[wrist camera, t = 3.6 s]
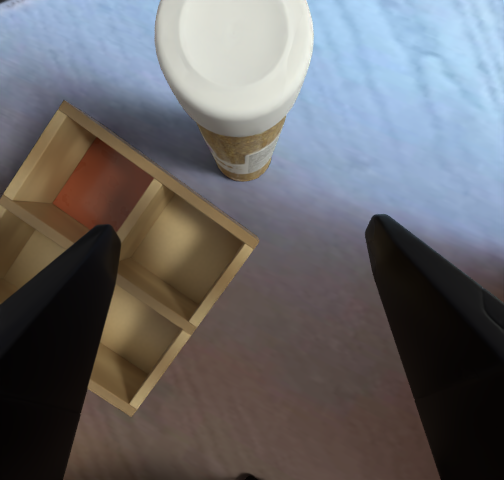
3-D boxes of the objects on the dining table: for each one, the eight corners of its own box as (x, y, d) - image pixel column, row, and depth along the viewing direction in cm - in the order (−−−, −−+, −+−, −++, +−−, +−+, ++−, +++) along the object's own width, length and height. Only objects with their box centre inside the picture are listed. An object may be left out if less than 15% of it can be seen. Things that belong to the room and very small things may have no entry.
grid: (152, 381, 22) (131, 417, 18) (-3, 278, 21) (-62, 292, 17) (257, 236, 21) (259, 241, 17) (100, 123, 20) (63, 99, 16)
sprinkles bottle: (202, 148, 20) (113, 12, 7) (248, 111, 20) (248, -102, 7) (238, 195, 21) (220, 151, 7) (284, 159, 20) (351, 46, 7)
